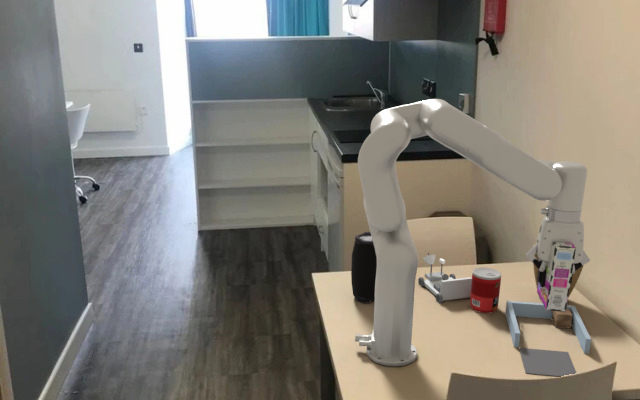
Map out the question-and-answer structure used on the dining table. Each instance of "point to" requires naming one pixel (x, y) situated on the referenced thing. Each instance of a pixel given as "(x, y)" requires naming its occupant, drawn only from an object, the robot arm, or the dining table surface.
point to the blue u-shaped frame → (540, 312)
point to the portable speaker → (363, 268)
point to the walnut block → (562, 319)
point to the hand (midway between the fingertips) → (553, 285)
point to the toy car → (445, 283)
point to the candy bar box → (558, 277)
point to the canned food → (485, 290)
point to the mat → (546, 362)
